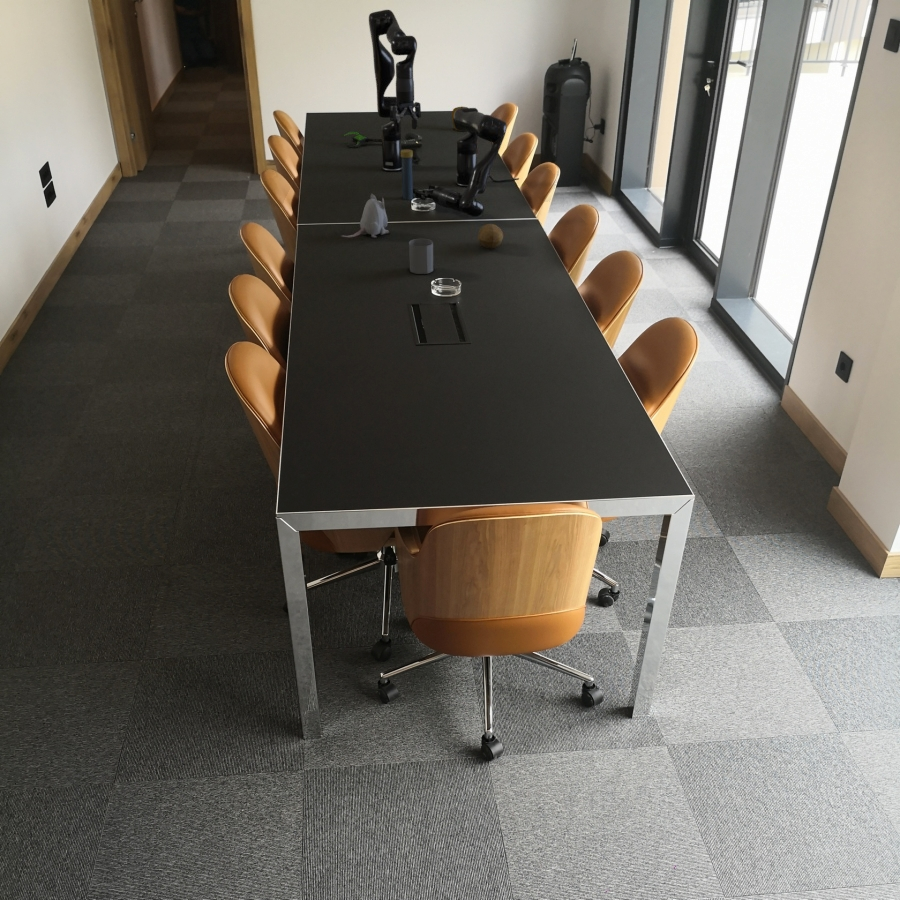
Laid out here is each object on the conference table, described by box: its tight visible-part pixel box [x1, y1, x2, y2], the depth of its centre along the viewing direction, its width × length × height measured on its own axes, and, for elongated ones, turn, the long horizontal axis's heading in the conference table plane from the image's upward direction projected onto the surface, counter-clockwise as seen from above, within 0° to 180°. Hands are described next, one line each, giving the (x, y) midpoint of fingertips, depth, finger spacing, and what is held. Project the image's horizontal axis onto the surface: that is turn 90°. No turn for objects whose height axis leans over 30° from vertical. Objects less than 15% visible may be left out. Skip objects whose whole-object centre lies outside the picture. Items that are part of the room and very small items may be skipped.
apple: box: [451, 105, 468, 132], centre depth 487 cm, size 11×11×13 cm
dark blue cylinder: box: [401, 157, 414, 201], centre depth 376 cm, size 4×4×20 cm
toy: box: [341, 193, 390, 239], centre depth 333 cm, size 9×24×15 cm, turn 137°
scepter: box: [342, 131, 382, 148], centre depth 461 cm, size 6×13×30 cm
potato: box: [477, 223, 504, 249], centre depth 326 cm, size 10×14×8 cm
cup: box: [408, 237, 434, 275], centre depth 305 cm, size 8×8×10 cm
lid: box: [401, 149, 414, 158], centre depth 371 cm, size 5×5×2 cm
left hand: (406, 130), depth 366 cm, fingers open, 8 cm apart
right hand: (421, 188), depth 372 cm, fingers open, 8 cm apart
